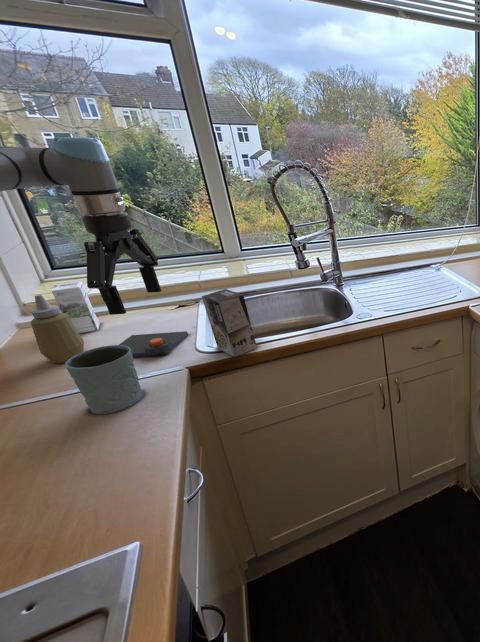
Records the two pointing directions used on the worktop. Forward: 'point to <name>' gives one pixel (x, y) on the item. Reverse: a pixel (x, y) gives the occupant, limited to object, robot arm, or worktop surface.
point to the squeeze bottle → (55, 332)
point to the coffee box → (229, 321)
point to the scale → (143, 347)
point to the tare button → (156, 342)
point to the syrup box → (76, 306)
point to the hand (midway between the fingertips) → (137, 302)
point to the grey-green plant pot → (106, 378)
